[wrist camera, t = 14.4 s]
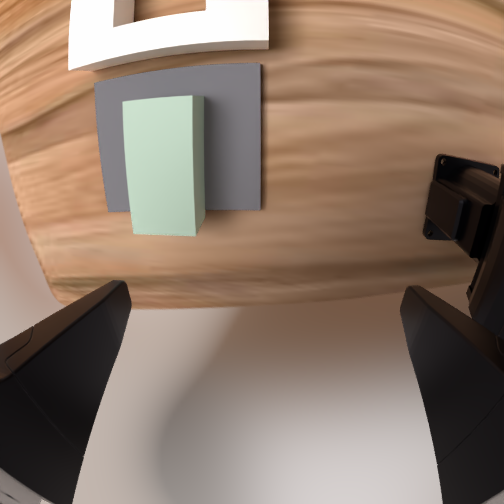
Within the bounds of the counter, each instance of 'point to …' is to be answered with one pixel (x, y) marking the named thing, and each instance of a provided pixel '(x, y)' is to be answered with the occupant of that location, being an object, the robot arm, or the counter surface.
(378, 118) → the counter surface
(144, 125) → the sage block
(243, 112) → the rubber mat
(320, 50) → the counter surface
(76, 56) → the white rectangular frame
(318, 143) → the counter surface
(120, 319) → the robot arm
